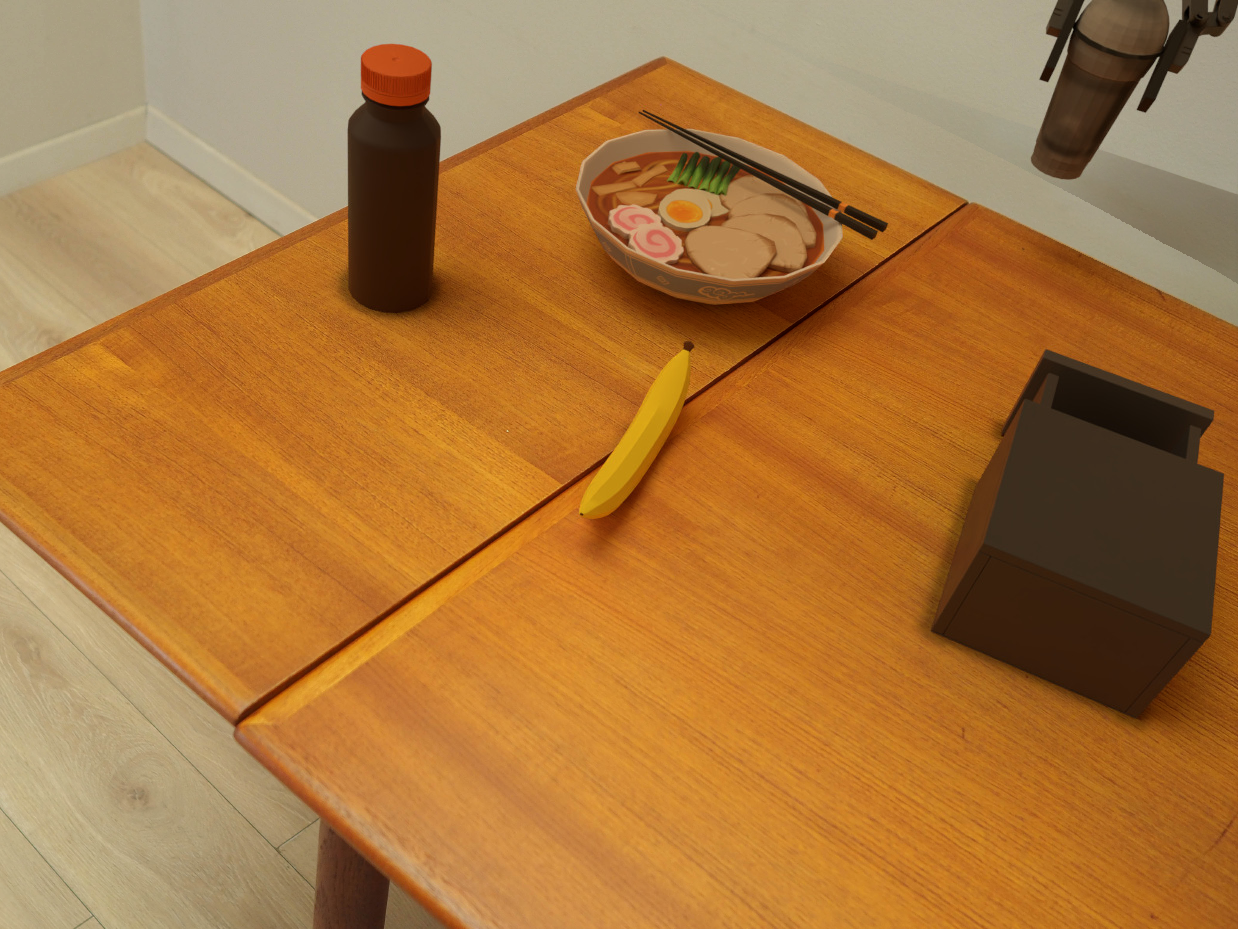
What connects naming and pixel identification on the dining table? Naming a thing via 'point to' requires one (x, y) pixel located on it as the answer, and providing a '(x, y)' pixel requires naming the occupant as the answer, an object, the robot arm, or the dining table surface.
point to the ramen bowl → (711, 214)
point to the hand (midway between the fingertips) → (1096, 89)
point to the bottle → (393, 181)
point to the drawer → (1116, 405)
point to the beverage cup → (1098, 80)
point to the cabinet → (1086, 560)
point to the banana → (640, 439)
